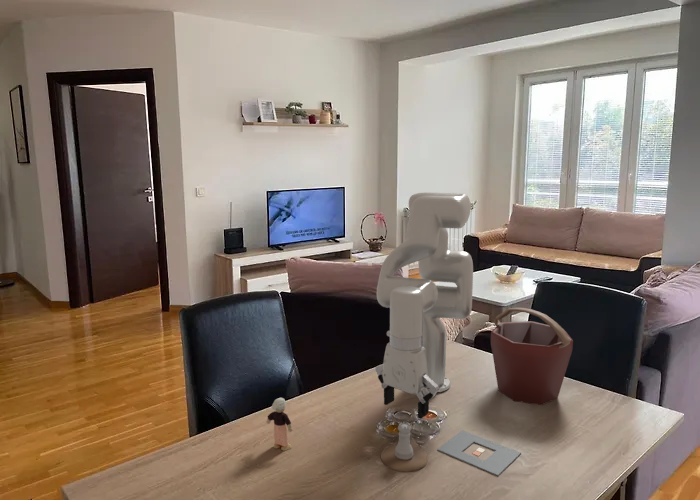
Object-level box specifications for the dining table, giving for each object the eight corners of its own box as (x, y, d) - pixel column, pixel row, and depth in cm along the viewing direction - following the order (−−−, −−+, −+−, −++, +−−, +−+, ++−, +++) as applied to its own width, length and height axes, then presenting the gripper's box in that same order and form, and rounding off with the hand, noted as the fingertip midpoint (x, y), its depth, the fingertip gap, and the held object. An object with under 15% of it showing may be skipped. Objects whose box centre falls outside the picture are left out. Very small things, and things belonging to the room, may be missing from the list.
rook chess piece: (412, 461, 125) (413, 430, 124) (393, 459, 126) (394, 428, 124) (414, 451, 129) (414, 420, 128) (395, 449, 130) (396, 419, 129)
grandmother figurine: (297, 444, 133) (296, 397, 131) (291, 453, 130) (290, 404, 127) (270, 439, 136) (268, 392, 133) (262, 447, 132) (261, 399, 130)
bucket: (474, 380, 170) (477, 304, 166) (532, 370, 178) (536, 297, 173) (524, 415, 148) (529, 328, 143) (587, 402, 155) (594, 319, 150)
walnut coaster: (371, 459, 127) (371, 457, 127) (399, 440, 135) (399, 438, 135) (409, 477, 120) (409, 475, 120) (436, 456, 128) (436, 454, 128)
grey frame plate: (437, 450, 131) (437, 449, 131) (462, 431, 140) (462, 430, 140) (497, 476, 120) (498, 475, 120) (521, 453, 129) (521, 452, 129)
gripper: (366, 336, 125) (366, 403, 129) (429, 355, 114) (427, 428, 118) (386, 327, 131) (386, 392, 134) (448, 345, 119) (446, 415, 123)
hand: (405, 409), depth 126 cm, fingers open, 9 cm apart
